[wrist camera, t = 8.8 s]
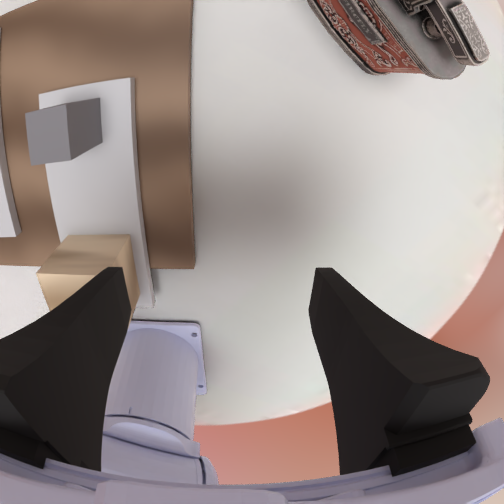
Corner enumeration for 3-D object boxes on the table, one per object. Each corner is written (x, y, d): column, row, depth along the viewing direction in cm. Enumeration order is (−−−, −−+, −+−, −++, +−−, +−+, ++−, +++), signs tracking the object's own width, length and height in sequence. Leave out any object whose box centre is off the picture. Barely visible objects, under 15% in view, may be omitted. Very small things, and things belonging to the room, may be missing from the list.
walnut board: (195, 261, 22) (194, 268, 21) (-17, 258, 21) (-23, 264, 20) (195, -28, 13) (193, -33, 12) (-48, 46, 11) (-56, 47, 10)
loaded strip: (155, 301, 22) (142, 349, 18) (82, 297, 22) (59, 341, 18) (134, 77, 15) (101, 78, 11) (45, 93, 14) (-2, 103, 10)
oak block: (140, 293, 21) (124, 340, 17) (82, 291, 21) (59, 334, 17) (130, 234, 19) (106, 275, 15) (68, 235, 18) (36, 273, 14)
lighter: (284, -19, 13) (332, -98, 4) (328, -41, 12) (401, -113, 4) (365, 84, 17) (471, 100, 8) (403, 60, 16) (519, 66, 7)
